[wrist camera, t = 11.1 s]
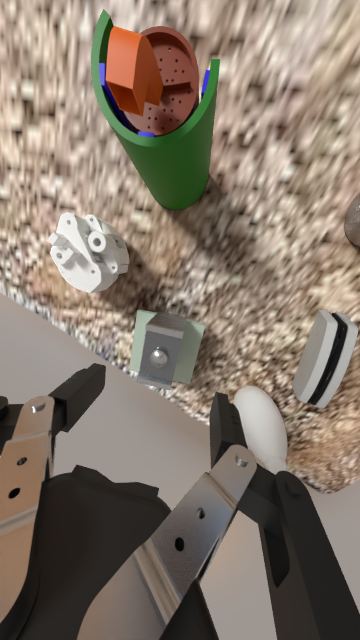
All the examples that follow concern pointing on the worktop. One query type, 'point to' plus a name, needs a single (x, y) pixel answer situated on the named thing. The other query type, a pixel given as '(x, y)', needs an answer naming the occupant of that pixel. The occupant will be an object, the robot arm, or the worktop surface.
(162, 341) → the housing
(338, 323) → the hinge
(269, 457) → the sauce bottle
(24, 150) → the worktop surface
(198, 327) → the stand
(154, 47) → the motor
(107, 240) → the mechanical part
